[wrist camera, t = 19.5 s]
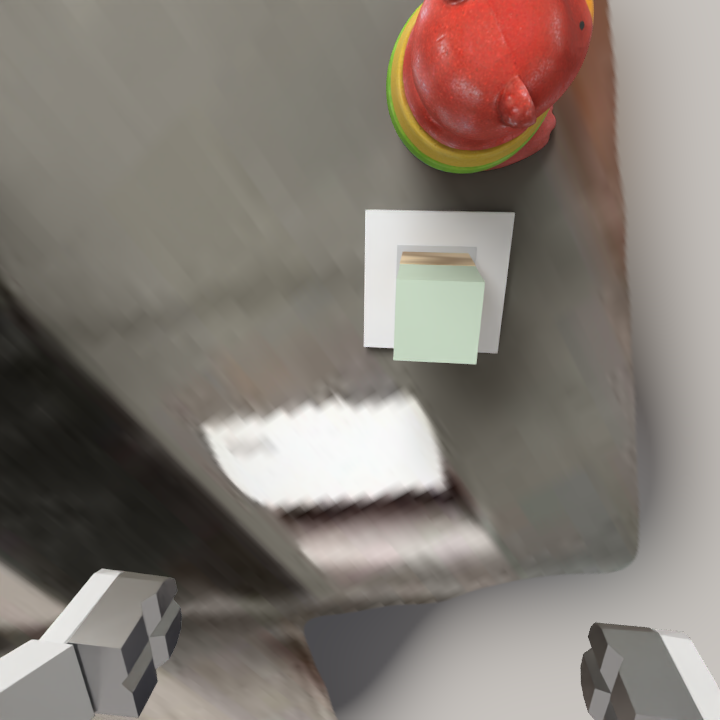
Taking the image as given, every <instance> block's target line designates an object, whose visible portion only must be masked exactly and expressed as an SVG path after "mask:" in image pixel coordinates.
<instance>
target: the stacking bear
mask: <svg viewBox="0 0 720 720" xmlns="http://www.w3.org/2000/svg"><path fill="white" fill-rule="evenodd" d="M593 16H594V5H593V0H424V2H423V3H422V4H421V5H420V6H419V7H418V8H417V9H416V10H415V12H414V13H413V14H412V15H411V17H410V18H409V19H408V21H407V22H406V24H405V25H404V27H403V29H402V31H401V32H400V34H399V36H398V38H397V41H396V43H395V45H394V48H393V51H392V54H391V57H390V61H389V66H388V71H387V80H386V95H387V104H388V109H389V114H390V117H391V120H392V123H393V125H394V128H395V130H396V132H397V134H398V136H399V137H400V139H401V141H402V142H403V144H404V145H405V146H406V147H407V149H408V150H409V151H410V152H411V153H412V154H413V155H414V156H415V157H417V158H418V159H419V160H421V161H422V162H423V163H425V164H427V165H429V166H431V167H433V168H435V169H438V170H441V171H445V172H450V173H460V174H462V173H474V172H480V171H488V170H493V169H497V168H501V167H504V166H507V165H510V164H513V163H516V162H518V161H520V160H522V159H525V158H527V157H528V156H530V155H532V154H534V153H536V152H537V151H539V150H540V149H542V148H543V147H544V146H545V145H546V144H547V143H548V141H549V135H550V133H551V131H552V130H553V129H554V127H555V125H556V118H555V116H554V115H553V113H552V110H553V104H554V103H555V102H556V101H557V100H558V99H559V98H560V97H561V96H562V95H563V93H564V92H565V91H566V90H567V88H568V87H569V86H570V84H571V83H572V82H573V80H574V79H575V77H576V75H577V73H578V72H579V70H580V68H581V66H582V64H583V61H584V59H585V56H586V53H587V50H588V47H589V44H590V39H591V35H592V29H593Z"/></svg>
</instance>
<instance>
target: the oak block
mask: <svg viewBox="0 0 720 720" xmlns="http://www.w3.org/2000/svg"><path fill="white" fill-rule="evenodd" d="M400 264H419V265H453V266H476V265H475V263H474V262H473V260H472V258H471V257H470V255H469V253H438V252H402V256H401V261H400Z"/></svg>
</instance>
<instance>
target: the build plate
mask: <svg viewBox="0 0 720 720" xmlns="http://www.w3.org/2000/svg"><path fill="white" fill-rule="evenodd" d="M514 217H515V213H514V212H481V211H423V210H366V212H365V295H364V347H379V348H394V329H395V302H396V279H397V274H398V270H399V266H400V261H401V256H402V252H438V253H469V255H470V257H471V258H472V260H473V262H474V263H475V265H476V268H477V270H478V271H479V273H480V275H481V276H482V278H483V280H484V281H485V288H484V297H483V306H482V315H481V325H480V334H479V343H478V352H481V353H498V345H499V337H500V329H501V321H502V313H503V305H504V297H505V289H506V281H507V273H508V265H509V257H510V249H511V241H512V233H513V225H514Z"/></svg>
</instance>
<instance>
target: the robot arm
mask: <svg viewBox="0 0 720 720" xmlns="http://www.w3.org/2000/svg"><path fill="white" fill-rule="evenodd" d="M176 593H177V587H176V583H175V579H174V578H170V577H163V576H155V575H148V574H141V573H134V572H126V571H117V570H109V569H101V570H99V571H98V572H96V573H94V574H93V575H92V576H91V578H90V579H89V580H88V581H87V582H86V584H85V585H84V586H83V587H82V588H81V590H80V591H79V592H78V593H77V595H76V596H75V597H74V598H73V599H72V601H71V602H70V603H69V604H68V605H67V607H66V608H65V609H64V610H63V612H62V613H61V614H60V615H59V616H58V618H57V619H56V620H55V621H54V622H53V624H52V625H51V626H50V627H49V628H48V630H47V631H46V632H45V633H44V635H43V636H42V637H41V638H40V639H39V640H34V639H31V640H30V641H28V642H26V643H25V644H23V645H21V646H20V647H18V648H16V649H15V650H13V651H11V652H10V653H8V654H6V655H5V656H3V657H1V658H0V720H91V719H92V718H93V717H94V716H95V714H94V713H98V714H108V715H117V716H126V717H135V718H139V716H140V714H141V712H142V710H143V708H144V706H145V705H146V703H147V701H148V699H149V697H150V695H151V693H152V691H153V689H154V687H155V686H156V684H157V682H158V681H157V674H156V669H157V668H158V667H159V666H161V665H162V664H163V663H165V662H166V661H167V660H168V659H170V657H171V655H172V653H173V651H174V649H175V646H176V644H177V641H178V638H179V634H180V631H181V623H182V614H181V608H180V606H179V605H178V604H177V603H176V602H175V601H174V600H173V598H174V596H175V594H176ZM588 638H589V641H590V644H591V647H592V648H591V649H590V650H588V651H587V652H585V653H584V654H583V658H582V663H581V686H582V691H583V696H584V700H585V703H586V706H587V710H588V713H589V714H590V715H591V716H592V717H593V718H594V719H595V720H720V688H719V686H718V685H717V683H716V681H715V680H714V678H713V676H712V675H711V673H710V671H709V669H708V668H707V666H706V664H705V663H704V661H703V659H702V658H701V656H700V654H699V652H698V651H697V649H696V648H695V646H694V644H693V642H692V641H691V639H690V637H688V636H687V635H686V634H685V633H684V632H680V631H671V630H662V629H651V628H647V627H646V628H645V627H636V626H626V625H625V626H624V625H614V624H604V623H594V624H593V625H592V626H591V628H590V631H589V635H588Z"/></svg>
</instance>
